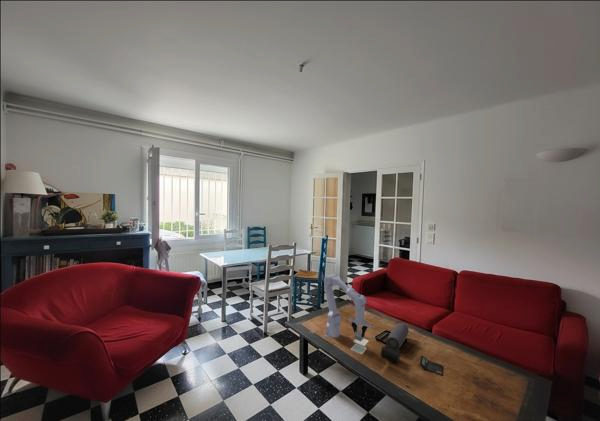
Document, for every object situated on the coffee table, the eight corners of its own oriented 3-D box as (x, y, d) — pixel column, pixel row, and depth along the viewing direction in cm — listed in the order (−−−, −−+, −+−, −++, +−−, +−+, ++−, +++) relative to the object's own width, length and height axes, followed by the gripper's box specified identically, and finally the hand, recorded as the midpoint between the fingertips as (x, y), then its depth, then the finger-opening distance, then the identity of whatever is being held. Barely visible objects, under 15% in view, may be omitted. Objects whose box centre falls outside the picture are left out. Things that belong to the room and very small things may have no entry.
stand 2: (350, 351, 157) (350, 349, 157) (355, 345, 163) (355, 343, 163) (361, 356, 152) (362, 354, 152) (366, 350, 159) (366, 347, 159)
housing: (354, 338, 158) (354, 331, 157) (358, 334, 162) (358, 327, 162) (361, 341, 155) (361, 333, 155) (364, 337, 160) (364, 329, 160)
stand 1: (353, 343, 165) (353, 341, 165) (357, 338, 172) (357, 336, 172) (364, 348, 161) (364, 346, 161) (368, 342, 167) (369, 340, 167)
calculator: (442, 376, 137) (442, 371, 137) (419, 368, 143) (419, 363, 143) (442, 366, 145) (442, 361, 145) (420, 359, 151) (421, 354, 151)
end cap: (380, 359, 150) (380, 348, 150) (384, 353, 156) (384, 343, 156) (397, 366, 144) (397, 355, 144) (400, 360, 150) (401, 349, 150)
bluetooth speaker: (400, 354, 155) (401, 339, 154) (385, 348, 161) (386, 334, 160) (409, 338, 173) (409, 324, 172) (395, 333, 179) (396, 320, 178)
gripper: (346, 314, 158) (346, 334, 159) (368, 321, 150) (367, 342, 151) (351, 310, 164) (350, 329, 165) (372, 316, 156) (371, 337, 156)
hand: (359, 335), depth 158 cm, fingers closed on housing, 4 cm apart
